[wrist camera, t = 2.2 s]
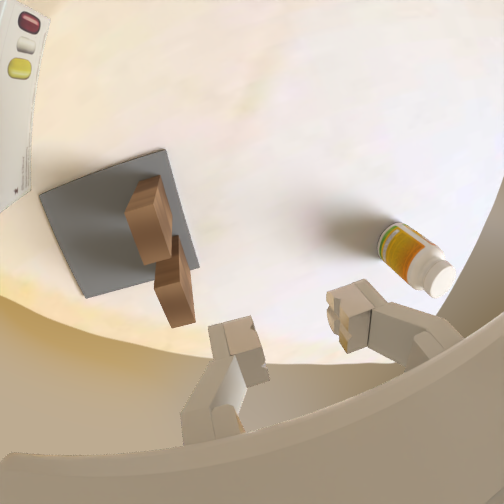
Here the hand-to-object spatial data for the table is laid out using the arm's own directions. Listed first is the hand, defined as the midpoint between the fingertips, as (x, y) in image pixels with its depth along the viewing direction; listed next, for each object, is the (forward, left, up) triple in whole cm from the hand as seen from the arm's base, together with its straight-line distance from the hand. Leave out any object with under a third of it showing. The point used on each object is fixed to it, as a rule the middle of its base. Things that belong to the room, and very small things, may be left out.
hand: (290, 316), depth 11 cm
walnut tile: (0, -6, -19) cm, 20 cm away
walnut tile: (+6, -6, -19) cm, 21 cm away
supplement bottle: (+12, +19, -19) cm, 30 cm away
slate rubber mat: (+2, -10, -19) cm, 22 cm away
